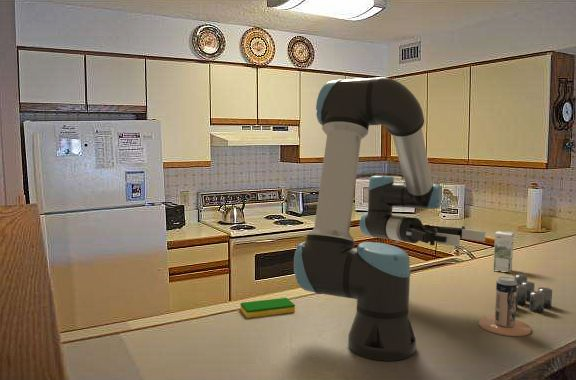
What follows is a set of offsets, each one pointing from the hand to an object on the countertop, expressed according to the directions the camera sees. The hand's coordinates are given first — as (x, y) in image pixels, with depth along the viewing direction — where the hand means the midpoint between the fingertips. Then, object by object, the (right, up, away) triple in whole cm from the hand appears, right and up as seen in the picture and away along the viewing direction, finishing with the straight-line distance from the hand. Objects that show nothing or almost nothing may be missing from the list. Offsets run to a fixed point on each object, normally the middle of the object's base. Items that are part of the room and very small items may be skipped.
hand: (472, 238), depth 130 cm
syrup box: (+30, -17, +50) cm, 60 cm away
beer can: (+6, -22, -6) cm, 23 cm away
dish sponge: (-55, -21, +6) cm, 59 cm away
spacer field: (+20, -20, +14) cm, 32 cm away
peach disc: (+6, -22, -6) cm, 23 cm away
